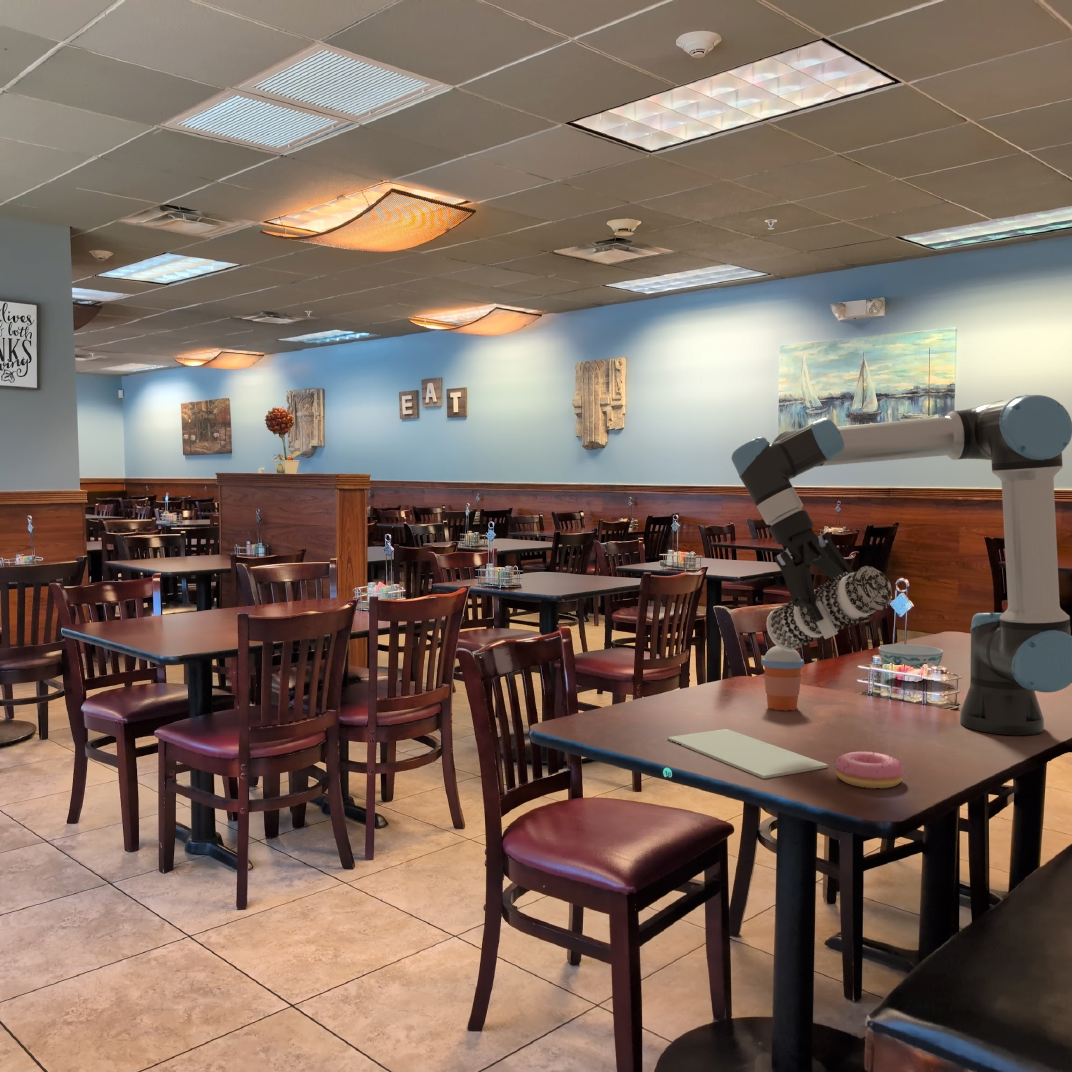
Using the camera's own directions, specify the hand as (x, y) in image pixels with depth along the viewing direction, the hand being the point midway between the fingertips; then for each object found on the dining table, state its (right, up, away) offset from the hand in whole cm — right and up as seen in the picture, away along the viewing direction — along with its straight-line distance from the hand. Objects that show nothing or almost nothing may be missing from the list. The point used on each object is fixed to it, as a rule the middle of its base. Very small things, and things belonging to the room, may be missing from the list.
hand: (846, 627), depth 175 cm
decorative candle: (-8, -2, +12) cm, 15 cm away
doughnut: (-1, -24, -15) cm, 28 cm away
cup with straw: (-2, -21, +37) cm, 43 cm away
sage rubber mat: (-18, -23, +2) cm, 29 cm away
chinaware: (+37, -20, +67) cm, 79 cm away
